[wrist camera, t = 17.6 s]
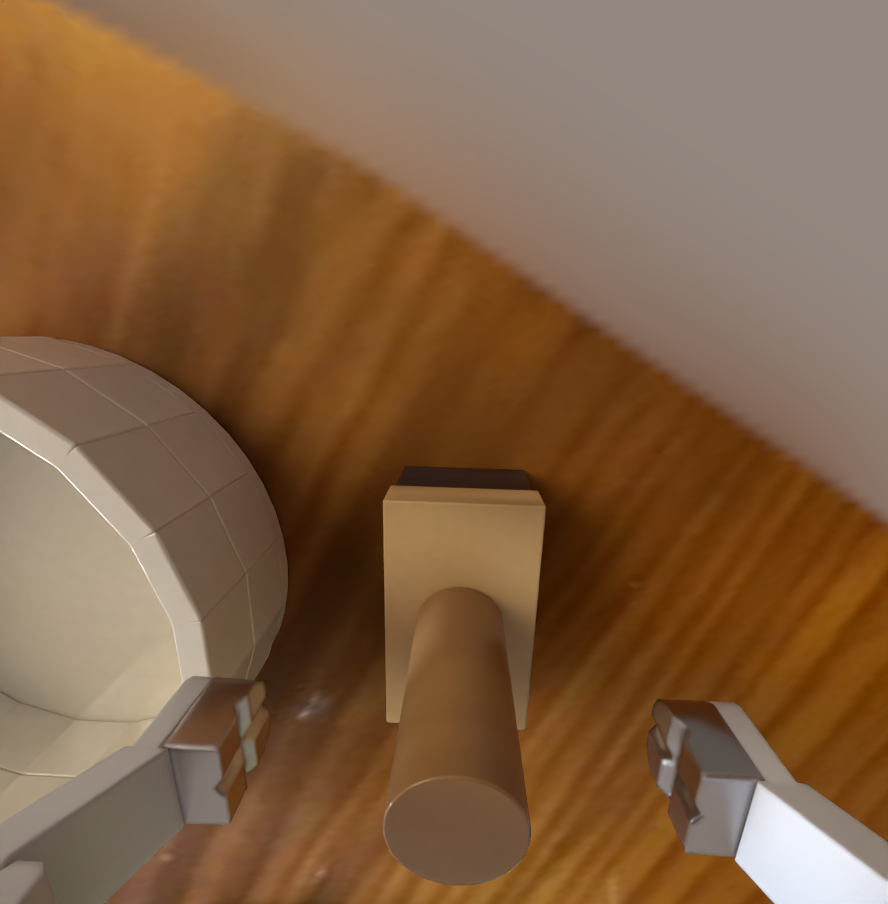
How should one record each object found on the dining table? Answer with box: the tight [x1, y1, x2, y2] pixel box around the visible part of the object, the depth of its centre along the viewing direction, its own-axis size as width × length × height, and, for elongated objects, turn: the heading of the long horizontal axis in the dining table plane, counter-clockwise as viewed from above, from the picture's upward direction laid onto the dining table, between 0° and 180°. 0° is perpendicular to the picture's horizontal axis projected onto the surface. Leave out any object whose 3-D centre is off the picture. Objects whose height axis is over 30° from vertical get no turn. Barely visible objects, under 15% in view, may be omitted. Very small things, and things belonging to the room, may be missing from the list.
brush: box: [383, 466, 546, 885], centre depth 11 cm, size 7×4×9 cm, turn 179°
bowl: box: [0, 336, 288, 823], centre depth 13 cm, size 16×16×5 cm
